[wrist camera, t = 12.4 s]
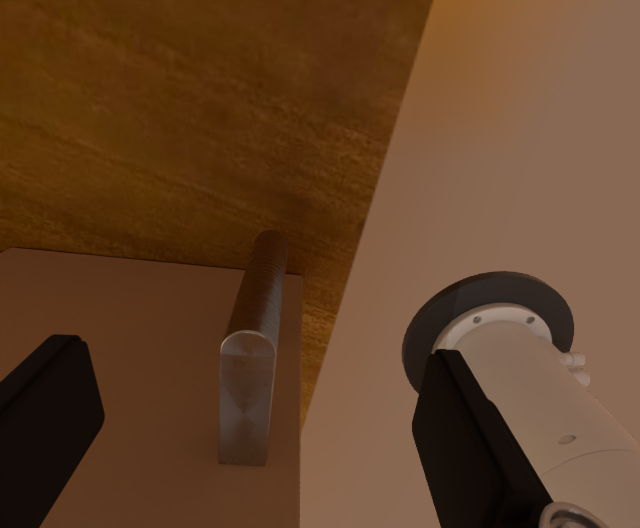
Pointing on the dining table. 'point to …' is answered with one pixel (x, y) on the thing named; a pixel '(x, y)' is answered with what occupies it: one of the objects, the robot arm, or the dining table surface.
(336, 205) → the dining table surface
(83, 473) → the door
